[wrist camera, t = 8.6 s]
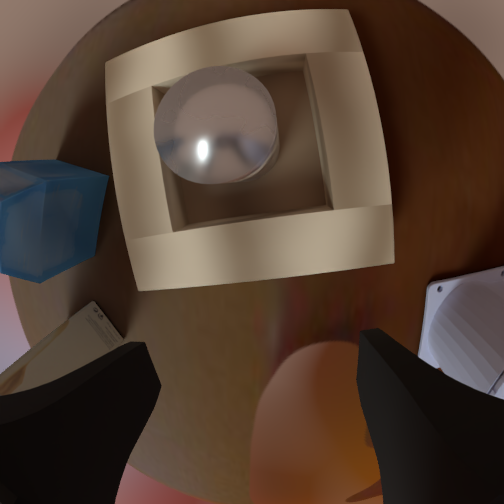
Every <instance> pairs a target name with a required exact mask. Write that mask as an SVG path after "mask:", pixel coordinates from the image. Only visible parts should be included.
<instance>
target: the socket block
mask: <svg viewBox="0 0 504 504" xmlns="http://www.w3.org/2000/svg"><path fill="white" fill-rule="evenodd" d="M211 66H228V67H233V68H237V69H240V70H243V71H245V72H247V73H249V74H251V75H252V76H254V77H255V78H257V79H258V80H259V81H260V82H261V83H262V84H263V85H264V87H265V88H266V89H267V90H268V92H269V94H270V96H271V98H272V100H273V103H274V106H275V110H276V117H277V125H278V133H279V142H280V151H279V156H278V159H277V161H276V163H275V165H274V166H273V167H272V169H271V170H270V171H269V172H268V173H266V174H265V175H264V176H262V177H260V178H258V179H256V180H252V181H246V182H232V183H219V184H201V183H195V182H192V181H189V180H186V179H184V178H182V177H180V176H179V175H177V174H176V173H174V172H173V171H172V170H171V169H170V168H169V167H168V166H167V165H166V164H165V163H164V161H163V160H162V158H161V157H160V155H159V152H158V150H157V147H156V144H155V139H154V120H155V115H156V112H157V109H158V106H159V104H160V102H161V100H162V98H163V97H164V95H165V94H166V93H167V91H168V90H169V89H170V88H171V87H172V86H173V85H174V84H175V83H176V82H177V81H178V80H180V79H181V78H182V77H184V76H186V75H187V74H189V73H191V72H194V71H196V70H199V69H202V68H206V67H211ZM105 87H106V110H107V125H108V136H109V146H110V155H111V163H112V170H113V177H114V184H115V190H116V196H117V201H118V207H119V212H120V217H121V222H122V227H123V232H124V236H125V241H126V245H127V250H128V254H129V258H130V262H131V266H132V270H133V273H134V277H135V281H136V284H137V288H138V291H148V290H161V289H173V288H185V287H196V286H207V285H218V284H228V283H238V282H248V281H257V280H266V279H275V278H284V277H293V276H301V275H309V274H317V273H325V272H333V271H341V270H348V269H356V268H363V267H370V266H377V265H384V264H391V263H394V230H393V212H392V199H391V188H390V178H389V170H388V162H387V155H386V149H385V142H384V136H383V131H382V125H381V120H380V115H379V110H378V106H377V101H376V97H375V93H374V89H373V85H372V81H371V77H370V73H369V70H368V66H367V63H366V60H365V56H364V53H363V50H362V47H361V44H360V41H359V38H358V35H357V32H356V29H355V26H354V24H353V21H352V18H351V16H350V13H349V11H348V10H345V9H311V10H293V11H281V12H272V13H264V14H257V15H250V16H244V17H239V18H234V19H229V20H224V21H220V22H215V23H211V24H207V25H203V26H199V27H196V28H192V29H189V30H186V31H182V32H179V33H176V34H173V35H170V36H167V37H164V38H161V39H159V40H156V41H153V42H151V43H148V44H145V45H143V46H140V47H138V48H136V49H133V50H131V51H129V52H126V53H124V54H122V55H120V56H118V57H116V58H113V59H111V60H109V61H107V62H105Z"/></svg>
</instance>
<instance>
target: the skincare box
mask: <svg viewBox="0 0 504 504" xmlns="http://www.w3.org/2000/svg"><path fill="white" fill-rule="evenodd" d="M123 341H124V339H123V338H122V337H121V335H120V334H119V333H118V332H117V330H116V329H115V328H114V326H113V325H112V324H111V322H110V321H109V320H108V318H107V317H106V316H105V315H104V313H103V312H102V311H101V309H100V308H99V307H98V306H97V304H96V303H95V302H94V301H92V302H90V303H89V304H88V305H86V306H85V307H84V308H82V309H81V310H80V311H78V312H77V313H76V314H74V315H73V316H72V317H70V318H69V319H68V320H67V321H65V322H64V323H63V324H61V325H60V326H59V327H58V328H56V329H55V330H54V331H52V332H51V333H50V334H49V335H47V336H46V337H45V338H43V339H42V340H41V341H40V342H39V343H37V344H36V345H35V346H34V347H32V348H31V349H30V350H29V351H27V352H26V353H25V354H24V355H23V356H21V357H20V358H19V359H18V360H17V361H15V362H14V363H13V364H12V365H11V366H9V367H8V368H7V369H6V370H5V371H4V372H2V373H1V374H0V396H2V395H8V394H13V393H17V392H21V391H24V390H28V389H32V388H35V387H38V386H40V385H43V384H46V383H49V382H51V381H53V380H56V379H58V378H60V377H62V376H64V375H66V374H68V373H70V372H72V371H74V370H76V369H78V368H80V367H82V366H84V365H86V364H88V363H90V362H92V361H93V360H95V359H97V358H99V357H101V356H103V355H104V354H106V353H108V352H110V351H112V350H114V349H116V348H117V347H118V346H119V345H120V344H121V343H122V342H123Z"/></svg>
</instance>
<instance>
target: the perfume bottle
mask: <svg viewBox="0 0 504 504" xmlns="http://www.w3.org/2000/svg"><path fill="white" fill-rule="evenodd" d="M108 179H109V176H108V175H104V174H101V173H98V172H95V171H92V170H88V169H85V168H82V167H79V166H75V165H72V164H69V163H66V162H62V161H59V160H28V161H10V162H0V273H2V274H6V275H9V276H13V277H17V278H21V279H24V280H28V281H32V282H36V283H42V282H44V281H45V280H47V279H49V278H51V277H53V276H55V275H57V274H59V273H61V272H63V271H65V270H67V269H69V268H71V267H73V266H75V265H77V264H79V263H81V262H83V261H85V260H87V259H89V258H91V257H93V256H95V251H96V243H97V236H98V230H99V224H100V218H101V212H102V207H103V202H104V197H105V192H106V187H107V183H108Z"/></svg>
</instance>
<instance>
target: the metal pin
mask: <svg viewBox="0 0 504 504" xmlns="http://www.w3.org/2000/svg"><path fill="white" fill-rule="evenodd" d="M154 139H155V144H156V147H157V150H158V152H159V155H160V157H161V158H162V160H163V161H164V163H165V164H166V165H167V166H168V167H169V168H170V169H171V170H172V171H173V172H174V173H176V174H177V175H179V176H180V177H182V178H184V179H186V180H189V181H192V182H195V183H201V184H219V183H232V182H246V181H252V180H256V179H258V178H260V177H262V176H264V175H265V174H266V173H268V172H269V171H270V170H271V169H272V167H273V166H274V165H275V163H276V161H277V159H278V156H279V151H280V142H279V133H278V125H277V117H276V110H275V106H274V103H273V100H272V98H271V96H270V94H269V92H268V90H267V89H266V88H265V87H264V85H263V84H262V83H261V82H260V81H259V80H258V79H257V78H255V77H254V76H252V75H251V74H249V73H247V72H245V71H243V70H240V69H237V68H233V67H228V66H211V67H206V68H202V69H199V70H196V71H194V72H191V73H189V74H187V75H186V76H184V77H182V78H181V79H180V80H178V81H177V82H176V83H175V84H174V85H173V86H172V87H171V88H170V89H169V90H168V91H167V93H166V94H165V95H164V97H163V98H162V100H161V102H160V104H159V106H158V109H157V112H156V115H155V120H154Z"/></svg>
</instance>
